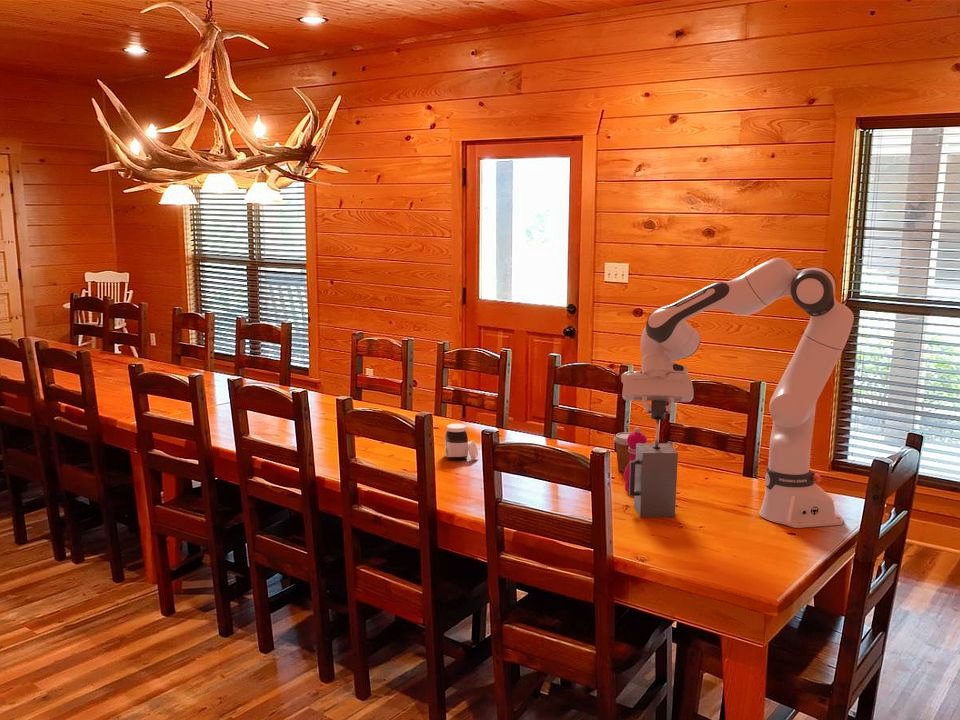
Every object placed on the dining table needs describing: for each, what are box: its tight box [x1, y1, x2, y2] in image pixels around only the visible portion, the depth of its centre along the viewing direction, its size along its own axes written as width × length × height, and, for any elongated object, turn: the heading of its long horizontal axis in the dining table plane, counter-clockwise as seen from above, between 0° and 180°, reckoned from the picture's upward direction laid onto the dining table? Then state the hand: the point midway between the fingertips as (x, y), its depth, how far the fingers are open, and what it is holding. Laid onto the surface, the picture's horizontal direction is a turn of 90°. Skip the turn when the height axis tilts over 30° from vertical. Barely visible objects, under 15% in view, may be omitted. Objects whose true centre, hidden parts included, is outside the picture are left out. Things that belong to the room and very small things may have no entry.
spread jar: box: [444, 423, 479, 462], centre depth 306 cm, size 12×11×12 cm
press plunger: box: [650, 400, 667, 449], centre depth 251 cm, size 8×8×17 cm
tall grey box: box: [628, 442, 679, 518], centre depth 254 cm, size 12×10×19 cm
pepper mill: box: [623, 427, 648, 492], centre depth 274 cm, size 7×7×20 cm
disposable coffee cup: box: [613, 431, 632, 473], centre depth 294 cm, size 10×10×12 cm
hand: (658, 412), depth 250 cm, fingers closed on press plunger, 4 cm apart
